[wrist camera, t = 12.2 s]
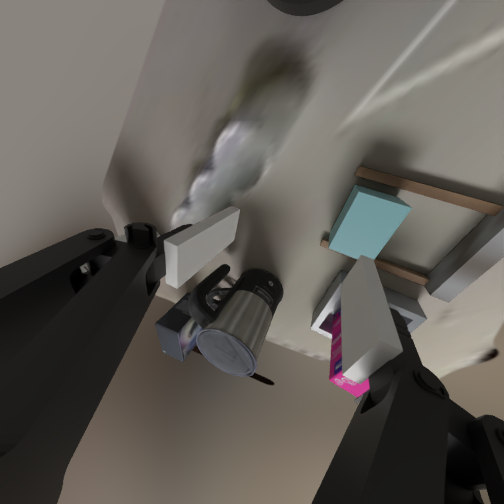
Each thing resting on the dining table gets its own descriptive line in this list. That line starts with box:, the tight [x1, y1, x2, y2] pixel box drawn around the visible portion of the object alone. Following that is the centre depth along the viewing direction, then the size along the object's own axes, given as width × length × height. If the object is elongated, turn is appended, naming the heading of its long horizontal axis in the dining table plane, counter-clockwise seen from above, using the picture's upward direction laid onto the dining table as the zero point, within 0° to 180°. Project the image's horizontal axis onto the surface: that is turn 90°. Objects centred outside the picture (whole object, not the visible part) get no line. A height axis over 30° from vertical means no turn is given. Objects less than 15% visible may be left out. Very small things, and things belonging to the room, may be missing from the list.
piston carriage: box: [328, 185, 412, 259], centre depth 22 cm, size 7×5×5 cm
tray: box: [310, 270, 427, 339], centre depth 29 cm, size 11×11×4 cm
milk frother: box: [188, 264, 283, 376], centre depth 33 cm, size 14×16×15 cm
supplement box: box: [329, 308, 370, 397], centre depth 25 cm, size 6×6×12 cm
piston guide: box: [320, 166, 504, 303], centre depth 22 cm, size 11×16×3 cm
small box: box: [155, 293, 207, 362], centre depth 45 cm, size 11×6×10 cm, turn 176°
